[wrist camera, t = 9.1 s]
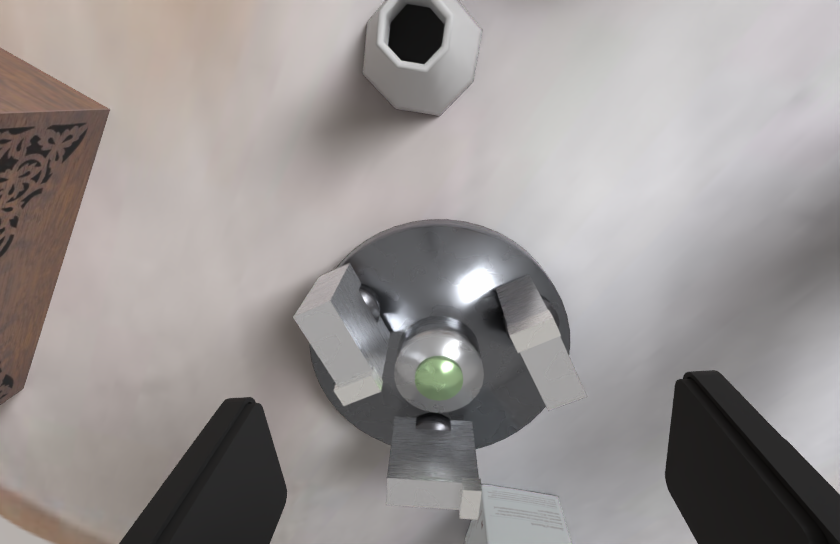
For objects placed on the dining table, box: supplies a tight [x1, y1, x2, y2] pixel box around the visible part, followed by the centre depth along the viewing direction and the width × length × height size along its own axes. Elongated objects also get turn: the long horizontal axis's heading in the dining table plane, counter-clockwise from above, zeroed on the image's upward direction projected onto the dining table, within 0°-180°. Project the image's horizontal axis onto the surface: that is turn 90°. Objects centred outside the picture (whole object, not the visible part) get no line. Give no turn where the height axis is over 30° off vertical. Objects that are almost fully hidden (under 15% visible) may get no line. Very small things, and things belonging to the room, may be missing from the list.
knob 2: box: [496, 274, 587, 411], centre depth 28 cm, size 4×6×7 cm, turn 27°
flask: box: [363, 0, 483, 116], centre depth 23 cm, size 7×7×10 cm
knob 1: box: [386, 413, 482, 520], centre depth 32 cm, size 4×6×7 cm, turn 87°
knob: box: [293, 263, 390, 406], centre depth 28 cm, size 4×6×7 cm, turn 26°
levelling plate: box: [310, 219, 570, 449], centre depth 32 cm, size 19×19×6 cm
